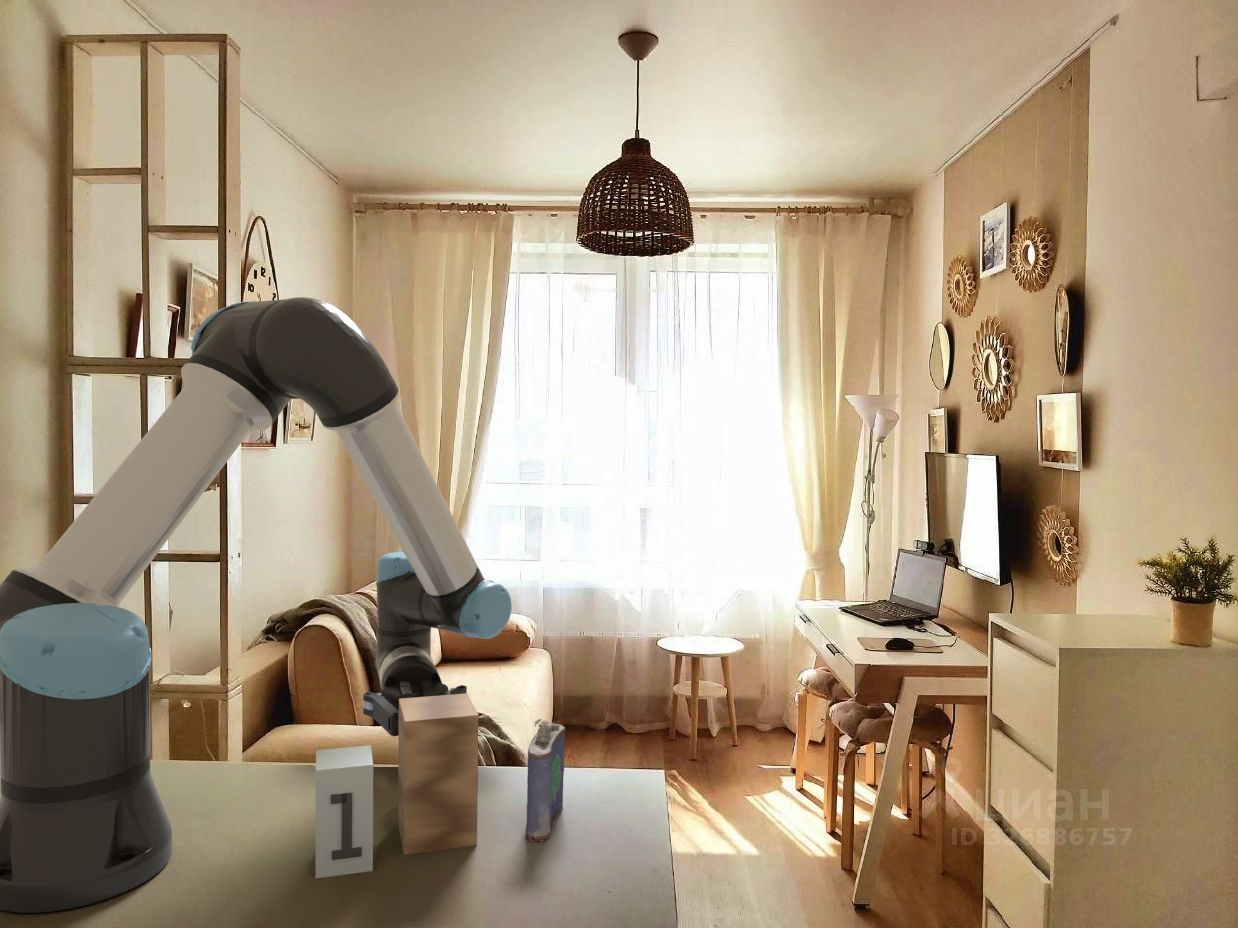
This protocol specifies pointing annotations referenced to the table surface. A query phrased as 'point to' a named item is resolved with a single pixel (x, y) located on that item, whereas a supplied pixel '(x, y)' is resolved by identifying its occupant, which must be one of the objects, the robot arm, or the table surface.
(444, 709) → the plain block
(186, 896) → the table surface
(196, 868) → the table surface
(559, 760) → the flask
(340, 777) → the number block
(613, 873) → the table surface
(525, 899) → the table surface
